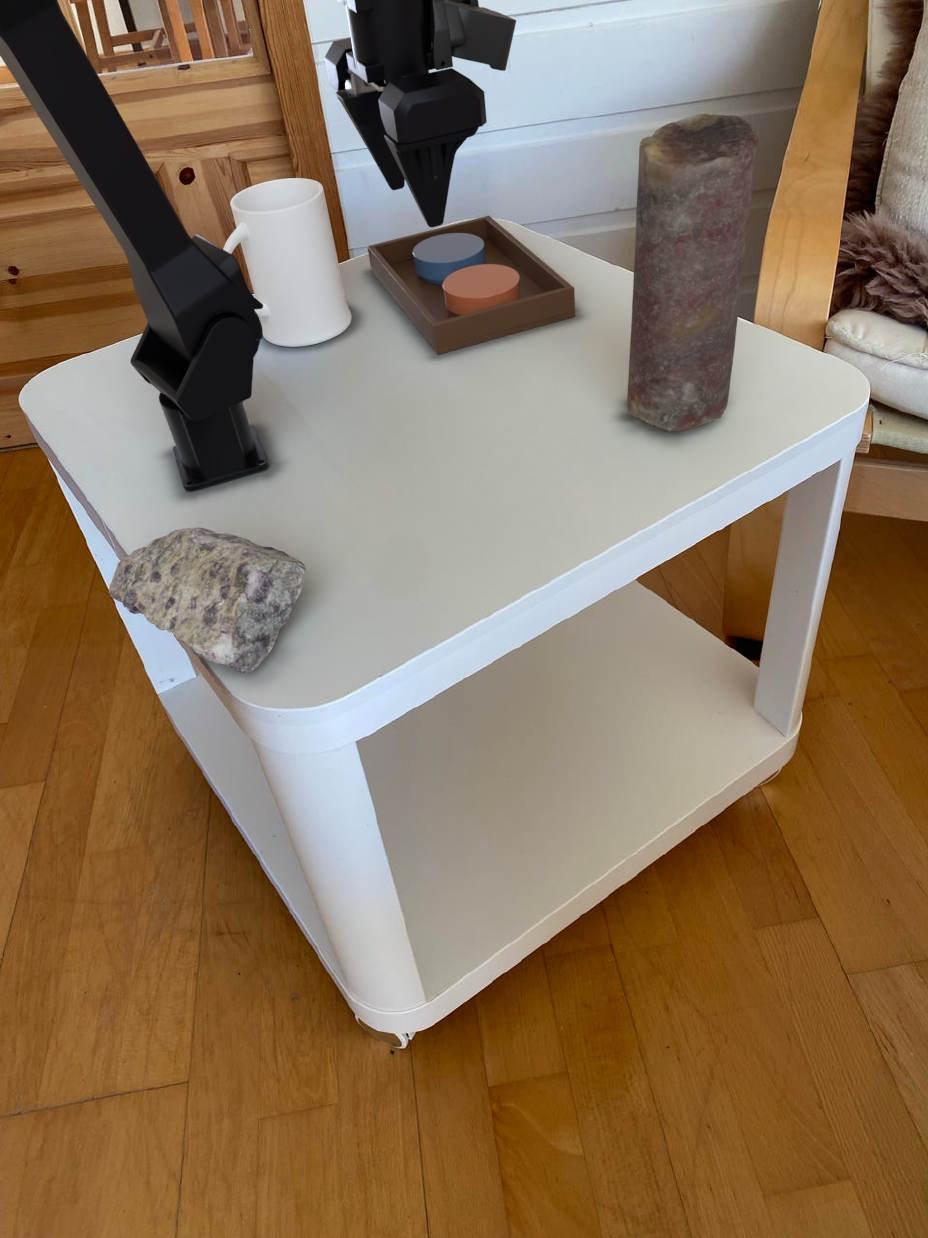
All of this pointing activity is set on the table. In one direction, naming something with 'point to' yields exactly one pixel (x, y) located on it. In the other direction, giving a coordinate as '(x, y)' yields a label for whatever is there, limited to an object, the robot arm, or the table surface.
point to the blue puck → (447, 255)
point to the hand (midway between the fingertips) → (415, 206)
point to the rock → (212, 593)
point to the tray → (446, 332)
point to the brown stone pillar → (689, 267)
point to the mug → (291, 260)
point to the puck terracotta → (480, 288)
